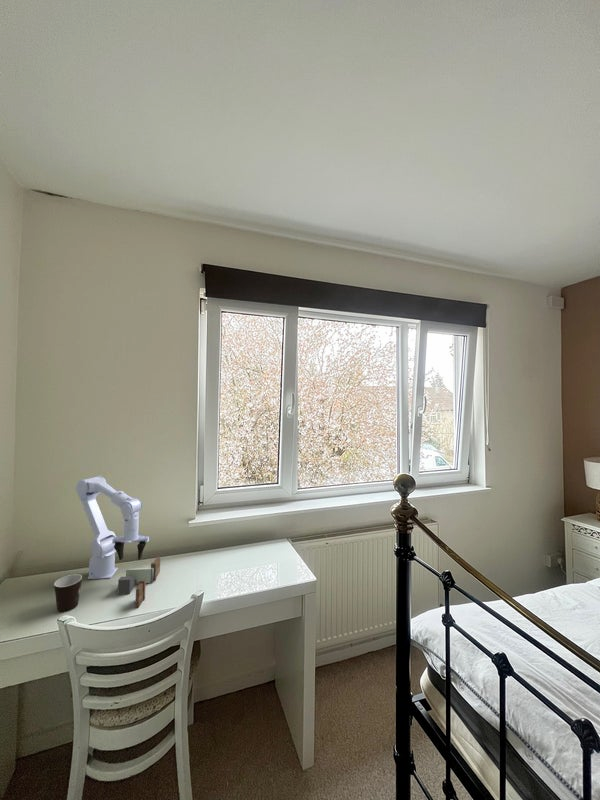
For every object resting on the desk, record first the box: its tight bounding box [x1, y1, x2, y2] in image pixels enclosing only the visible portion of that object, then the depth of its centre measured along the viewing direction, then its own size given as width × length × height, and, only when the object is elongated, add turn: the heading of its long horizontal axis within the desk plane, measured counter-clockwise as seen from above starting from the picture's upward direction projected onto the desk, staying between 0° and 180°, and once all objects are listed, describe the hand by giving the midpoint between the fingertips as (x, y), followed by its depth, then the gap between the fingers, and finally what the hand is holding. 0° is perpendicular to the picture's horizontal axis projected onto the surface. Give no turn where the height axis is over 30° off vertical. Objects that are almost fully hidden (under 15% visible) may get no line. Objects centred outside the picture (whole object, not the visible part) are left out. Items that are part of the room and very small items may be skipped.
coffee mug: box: [53, 573, 83, 613], centre depth 122 cm, size 12×9×10 cm
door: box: [125, 567, 154, 585], centre depth 137 cm, size 11×1×6 cm, turn 97°
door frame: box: [135, 555, 161, 609], centre depth 134 cm, size 2×26×8 cm, turn 7°
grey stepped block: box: [117, 575, 137, 595], centre depth 132 cm, size 7×4×6 cm, turn 7°
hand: (130, 558), depth 139 cm, fingers open, 7 cm apart
